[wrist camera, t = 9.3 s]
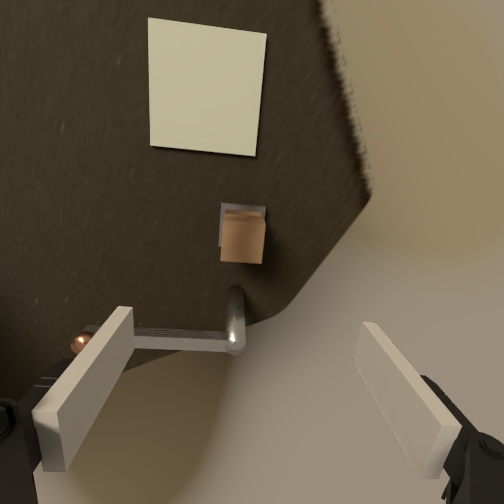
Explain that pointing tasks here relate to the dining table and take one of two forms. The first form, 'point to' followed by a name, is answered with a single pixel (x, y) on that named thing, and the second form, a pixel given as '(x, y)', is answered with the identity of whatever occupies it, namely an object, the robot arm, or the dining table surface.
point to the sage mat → (204, 86)
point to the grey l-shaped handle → (187, 333)
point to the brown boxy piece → (242, 232)
